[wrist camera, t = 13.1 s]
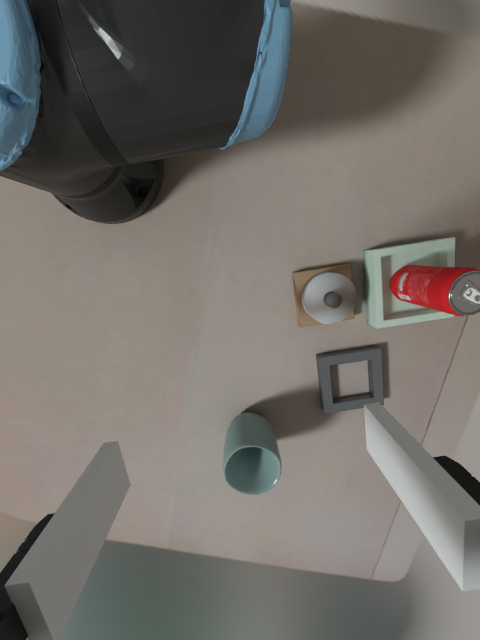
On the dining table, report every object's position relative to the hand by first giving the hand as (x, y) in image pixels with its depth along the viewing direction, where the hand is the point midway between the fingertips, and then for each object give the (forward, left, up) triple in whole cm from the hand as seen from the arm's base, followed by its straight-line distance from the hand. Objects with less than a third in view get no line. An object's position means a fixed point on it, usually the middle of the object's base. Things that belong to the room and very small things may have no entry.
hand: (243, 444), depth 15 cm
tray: (-2, +25, -29) cm, 38 cm away
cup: (+18, -1, -29) cm, 34 cm away
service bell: (-2, +13, -29) cm, 32 cm away
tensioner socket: (+12, +16, -29) cm, 35 cm away
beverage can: (-2, +25, -28) cm, 38 cm away
